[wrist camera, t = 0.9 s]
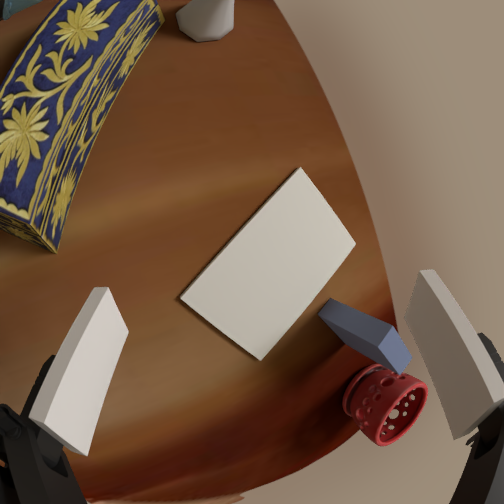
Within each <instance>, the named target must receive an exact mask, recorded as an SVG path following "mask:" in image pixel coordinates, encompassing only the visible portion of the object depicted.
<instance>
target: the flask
mask: <svg viewBox="0 0 504 504" xmlns="http://www.w3.org/2000/svg"><path fill="white" fill-rule="evenodd" d="M233 12H234V0H192V1H191V2H189V3H188V4H187V5H186V6H184V7H183V8H182V9H180V10H179V11H178V12H177V13H176V18H177V22H178V25H179V29H180V30H181V31H182V32H184V33H185V34H187V35H188V36H189V37H191V38H192V39H194V40H195V41H197V42H202V41H211V40H220V39H221V38H222V37H223V36H225V35H226V34H227V33H228V32H230V31H231V30H232V29H233Z"/></svg>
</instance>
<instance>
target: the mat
mask: <svg viewBox="0 0 504 504" xmlns="http://www.w3.org/2000/svg"><path fill="white" fill-rule="evenodd" d="M355 245H356V243H355V242H354V240H353V239H352V237H351V236H350V234H349V233H348V231H347V230H346V228H345V227H344V226H343V224H342V223H341V221H340V220H339V218H338V217H337V216H336V214H335V213H334V211H333V210H332V209H331V207H330V206H329V204H328V203H327V202H326V200H325V199H324V198H323V196H322V195H321V193H320V192H319V191H318V189H317V188H316V187H315V185H314V184H313V183H312V181H311V180H310V179H309V178H308V176H307V175H306V174H305V172H304V171H303V170H302V168H301V167H299V168H297V169H296V170H295V171H294V172H293V173H292V175H291V176H290V177H289V178H288V179H287V180H286V181H285V182H284V183H283V184H282V185H281V186H280V187H279V188H278V189H277V190H276V191H275V193H274V194H273V195H272V196H271V197H270V198H269V199H268V200H267V201H266V202H265V203H264V204H263V205H262V206H261V208H260V209H259V210H258V211H257V212H256V213H255V214H254V215H253V216H252V217H251V218H250V219H249V220H248V222H247V223H246V224H245V225H244V226H243V227H242V228H241V229H240V230H239V231H238V232H237V233H236V235H235V236H234V237H233V238H232V239H231V240H230V241H229V242H228V243H227V244H226V245H225V247H224V248H223V249H222V250H221V251H220V252H219V253H218V254H217V255H216V257H215V258H214V259H213V260H212V261H211V262H210V263H209V264H208V265H207V266H206V268H205V269H204V270H203V271H202V272H201V273H200V274H199V275H198V276H197V278H196V279H195V280H194V281H193V282H192V283H191V284H190V285H189V287H188V288H187V289H186V290H185V291H184V292H183V293H182V294H181V296H180V298H181V299H182V300H183V301H184V302H185V303H187V304H188V305H189V306H190V307H191V308H193V309H194V310H195V311H196V312H198V313H199V314H200V315H201V316H203V317H204V318H205V319H206V320H208V321H209V322H210V323H211V324H213V325H214V326H215V327H216V328H218V329H219V330H220V331H222V332H223V333H224V334H225V335H227V336H228V337H229V338H231V339H232V340H233V341H235V342H236V343H237V344H239V345H240V346H241V347H243V348H244V349H245V350H247V351H248V352H249V353H251V354H252V355H253V356H255V357H256V358H257V359H259V360H260V361H261V360H262V359H263V358H264V357H265V355H266V354H267V353H268V352H269V351H270V350H271V349H272V348H273V346H274V345H275V344H276V343H277V342H278V341H279V340H280V338H281V337H282V336H283V335H284V334H285V333H286V331H287V330H288V329H289V328H290V327H291V326H292V324H293V323H294V322H295V321H296V320H297V318H298V317H299V316H300V315H301V314H302V312H303V311H304V310H305V309H306V308H307V306H308V305H309V304H310V303H311V301H312V300H313V299H314V298H315V297H316V295H317V294H318V293H319V292H320V290H321V289H322V288H323V287H324V285H325V284H326V283H327V281H328V280H329V279H330V278H331V276H332V275H333V274H334V272H335V271H336V270H337V269H338V267H339V266H340V265H341V263H342V262H343V261H344V259H345V258H346V257H347V255H348V254H349V253H350V251H351V250H352V249H353V247H354V246H355Z"/></svg>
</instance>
